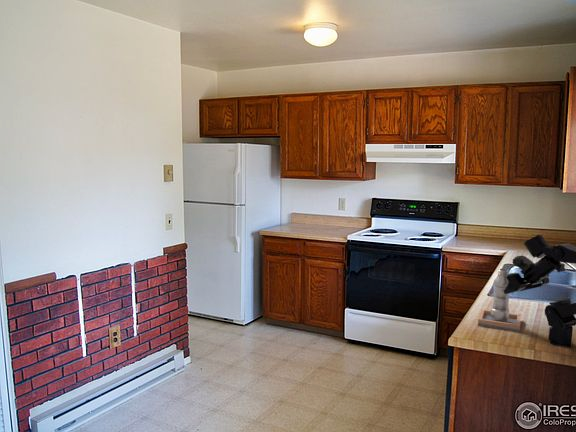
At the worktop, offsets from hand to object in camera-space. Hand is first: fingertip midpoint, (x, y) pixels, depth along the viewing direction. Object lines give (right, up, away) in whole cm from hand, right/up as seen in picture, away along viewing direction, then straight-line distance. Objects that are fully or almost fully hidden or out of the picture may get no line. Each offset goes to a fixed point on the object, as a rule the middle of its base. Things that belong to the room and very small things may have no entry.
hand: (512, 291), depth 185 cm
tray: (-3, -13, +5) cm, 14 cm away
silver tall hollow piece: (-3, -12, +5) cm, 14 cm away
